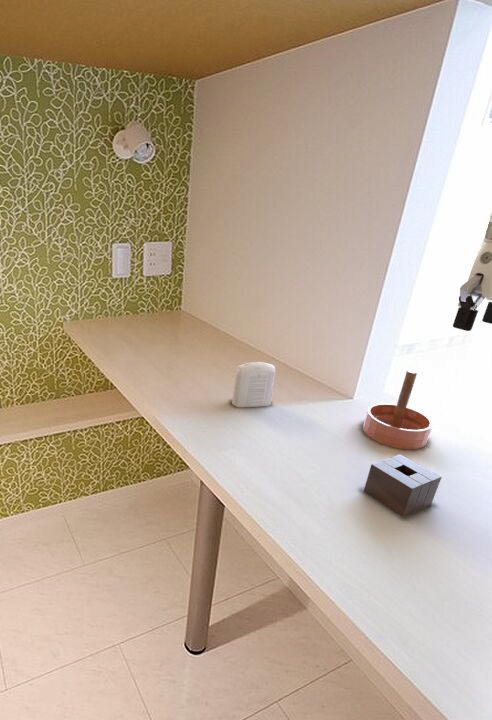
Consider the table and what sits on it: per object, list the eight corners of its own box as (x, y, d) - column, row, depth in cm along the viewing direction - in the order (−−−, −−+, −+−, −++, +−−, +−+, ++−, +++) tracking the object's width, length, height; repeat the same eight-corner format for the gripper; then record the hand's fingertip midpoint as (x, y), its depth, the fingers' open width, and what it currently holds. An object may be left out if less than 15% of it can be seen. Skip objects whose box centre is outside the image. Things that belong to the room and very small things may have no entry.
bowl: (408, 424, 107) (414, 404, 105) (437, 454, 95) (445, 432, 93) (353, 422, 108) (358, 402, 106) (375, 451, 96) (381, 429, 94)
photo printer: (266, 401, 118) (272, 358, 112) (272, 408, 114) (279, 365, 109) (229, 403, 117) (234, 360, 111) (234, 410, 113) (240, 366, 107)
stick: (395, 432, 102) (414, 370, 95) (399, 437, 101) (419, 373, 94) (386, 432, 103) (405, 369, 96) (390, 436, 101) (409, 373, 94)
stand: (390, 483, 86) (400, 453, 83) (430, 508, 79) (442, 476, 76) (362, 494, 82) (371, 464, 79) (401, 521, 76) (412, 489, 73)
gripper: (505, 237, 72) (470, 337, 79) (559, 234, 78) (522, 326, 86) (458, 233, 78) (430, 326, 85) (512, 230, 85) (481, 316, 92)
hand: (476, 326), depth 85 cm, fingers open, 9 cm apart
